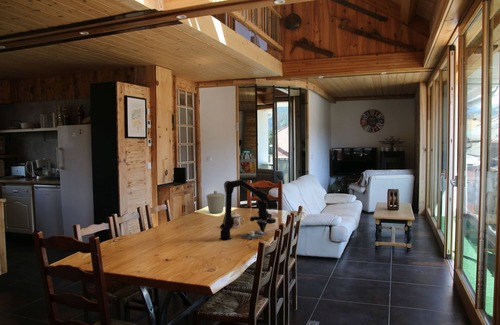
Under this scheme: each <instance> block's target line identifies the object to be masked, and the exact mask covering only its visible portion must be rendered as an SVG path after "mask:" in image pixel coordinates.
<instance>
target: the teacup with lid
mask: <svg viewBox="0 0 500 325" xmlns="http://www.w3.org/2000/svg"><path fill="white" fill-rule="evenodd" d="M231 216H232V217H233V218H234V224H233V227H232V228H231V229H240V228H241V226H242V225H244V223H245V222H246V221H245V218H244V217H241V214H238V213H237V212H236V211H234V212H233V213H231ZM241 219H242V220H243V222H242V220H241Z"/></svg>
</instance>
